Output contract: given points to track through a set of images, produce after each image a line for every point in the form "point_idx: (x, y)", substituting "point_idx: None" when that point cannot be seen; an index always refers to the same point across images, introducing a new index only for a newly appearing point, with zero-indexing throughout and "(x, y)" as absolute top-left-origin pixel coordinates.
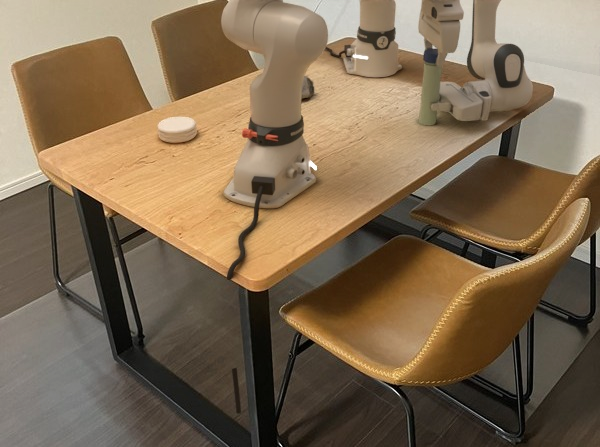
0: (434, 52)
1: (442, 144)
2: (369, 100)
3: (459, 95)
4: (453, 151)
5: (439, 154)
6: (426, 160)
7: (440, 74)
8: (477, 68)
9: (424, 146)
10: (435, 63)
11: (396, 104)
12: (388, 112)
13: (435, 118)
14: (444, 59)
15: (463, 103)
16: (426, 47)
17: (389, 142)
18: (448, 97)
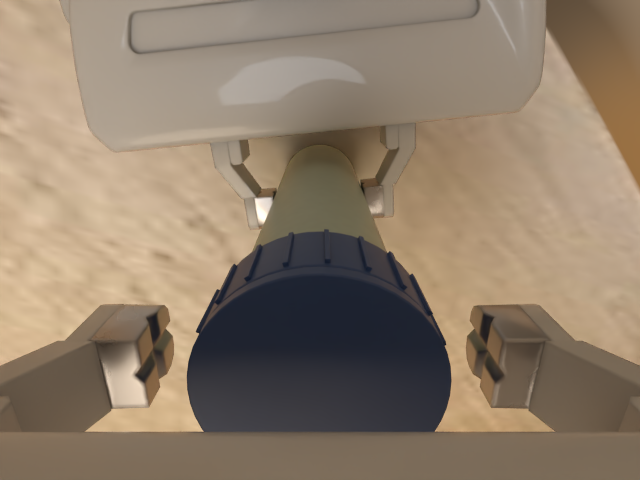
0: (355, 405)
1: (536, 188)
2: None
3: (326, 26)
4: (607, 168)
5: (607, 225)
6: (629, 279)
7: (372, 226)
8: None
9: (528, 255)
10: (469, 366)
11: (120, 248)
12: (204, 296)
13: (347, 160)
14: (581, 346)
15: (478, 59)
16: (102, 409)
17: (460, 351)
18: (360, 117)
